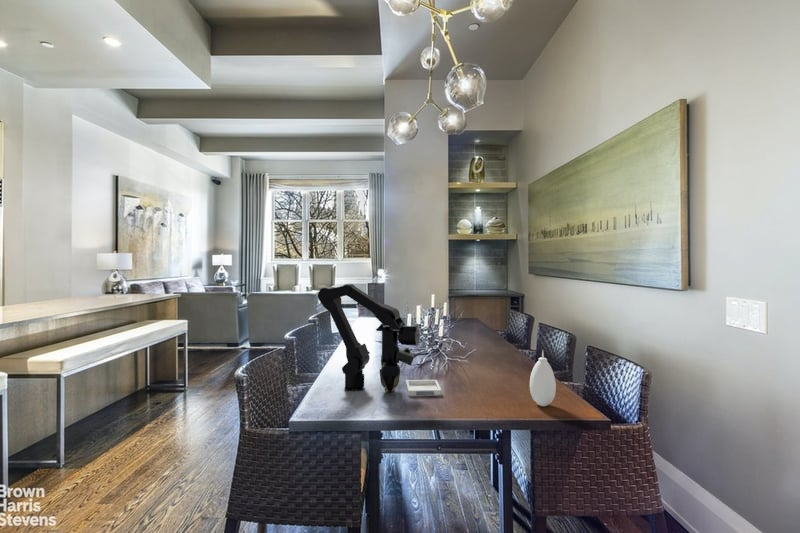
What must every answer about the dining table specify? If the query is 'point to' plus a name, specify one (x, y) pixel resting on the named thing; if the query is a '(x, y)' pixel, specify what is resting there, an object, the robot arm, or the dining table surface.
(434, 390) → the white tray
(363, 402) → the dining table surface
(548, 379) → the air blower bulb
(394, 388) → the brown hollow flared piece
